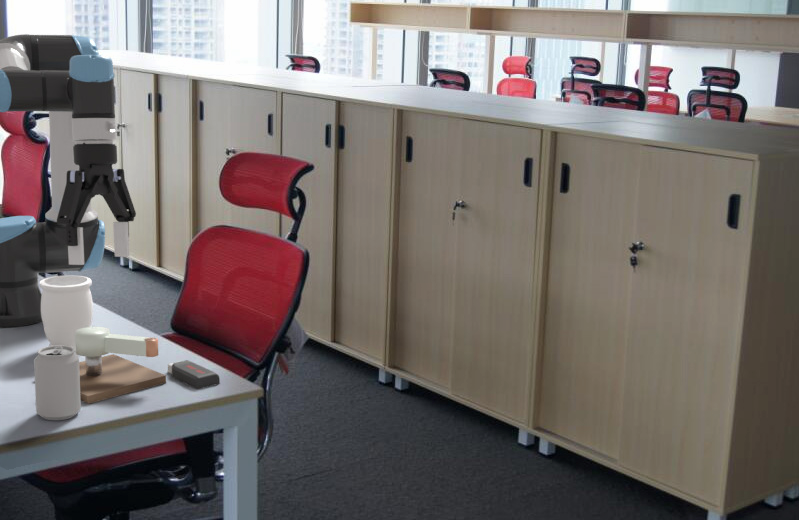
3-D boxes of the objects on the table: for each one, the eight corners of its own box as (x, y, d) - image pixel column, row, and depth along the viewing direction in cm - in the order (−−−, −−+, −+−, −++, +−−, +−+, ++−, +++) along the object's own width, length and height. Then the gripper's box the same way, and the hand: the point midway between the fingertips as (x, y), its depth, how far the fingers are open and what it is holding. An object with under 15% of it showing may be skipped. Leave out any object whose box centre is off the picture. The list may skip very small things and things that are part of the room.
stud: (82, 373, 203) (82, 352, 202) (96, 370, 205) (95, 349, 204) (91, 377, 201) (90, 356, 200) (105, 373, 203) (104, 353, 202)
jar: (78, 359, 216) (76, 288, 212) (32, 354, 218) (29, 284, 214) (103, 344, 226) (101, 276, 223) (58, 340, 228) (56, 272, 225)
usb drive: (196, 390, 201) (196, 377, 200) (163, 374, 209) (163, 361, 209) (219, 385, 204) (219, 371, 204) (186, 369, 213) (186, 356, 212)
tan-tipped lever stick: (69, 354, 199) (68, 334, 198) (86, 345, 205) (85, 325, 205) (150, 363, 196) (150, 342, 195) (164, 353, 202) (164, 333, 201)
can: (29, 421, 182) (26, 354, 180) (45, 405, 190) (43, 342, 187) (72, 423, 182) (69, 357, 179) (86, 407, 189) (84, 344, 187)
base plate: (37, 379, 203) (36, 372, 202) (113, 361, 215) (113, 354, 215) (88, 403, 191) (88, 396, 191) (166, 382, 204) (165, 375, 203)
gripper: (68, 142, 176) (74, 268, 178) (151, 142, 199) (156, 254, 201) (31, 143, 178) (37, 267, 180) (118, 143, 201) (122, 253, 204)
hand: (100, 260), depth 191 cm, fingers open, 13 cm apart
